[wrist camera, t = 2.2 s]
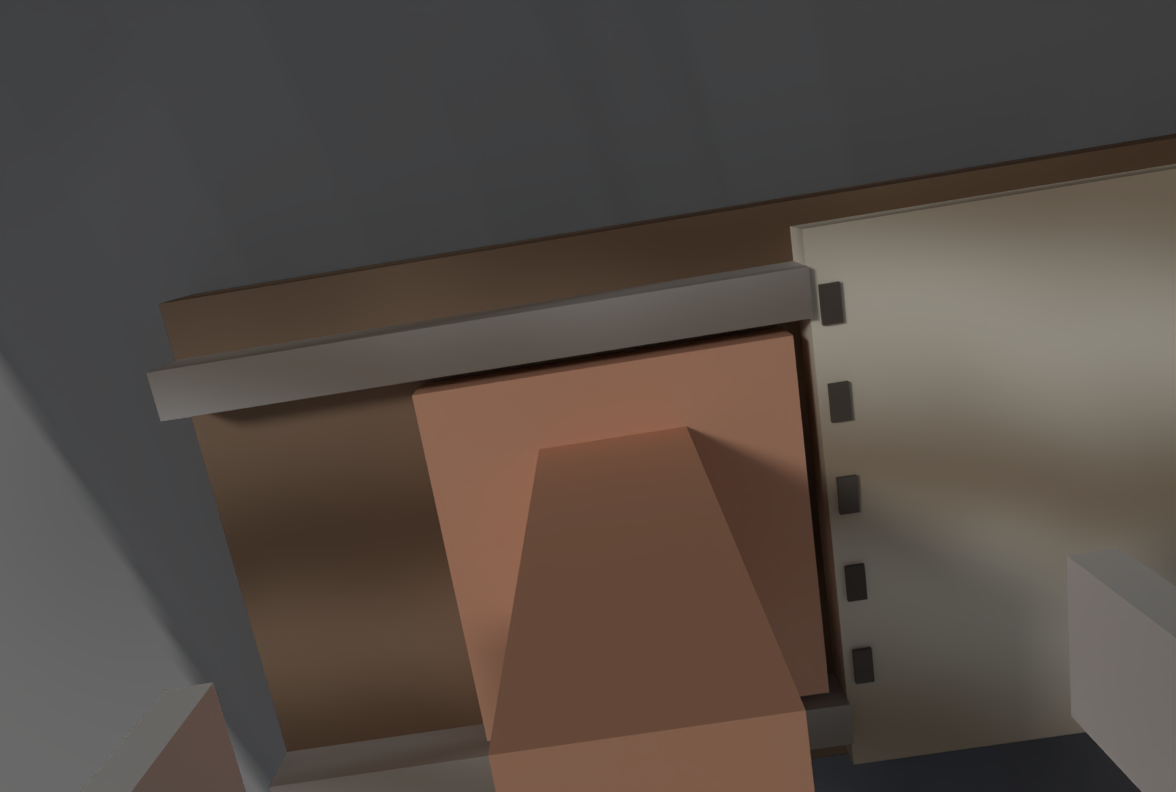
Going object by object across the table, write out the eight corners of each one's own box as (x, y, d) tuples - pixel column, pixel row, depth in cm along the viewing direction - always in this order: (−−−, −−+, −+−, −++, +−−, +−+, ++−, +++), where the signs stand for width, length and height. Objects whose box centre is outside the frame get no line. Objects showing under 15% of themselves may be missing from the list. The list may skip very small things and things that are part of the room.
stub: (420, 384, 18) (207, 649, 8) (781, 326, 17) (1051, 523, 7) (492, 713, 20) (395, 1272, 10) (817, 666, 19) (1068, 1189, 9)
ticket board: (191, 294, 19) (128, 312, 16) (1475, 84, 18) (1628, 68, 15) (327, 786, 22) (293, 868, 19) (1424, 630, 21) (1544, 694, 18)
